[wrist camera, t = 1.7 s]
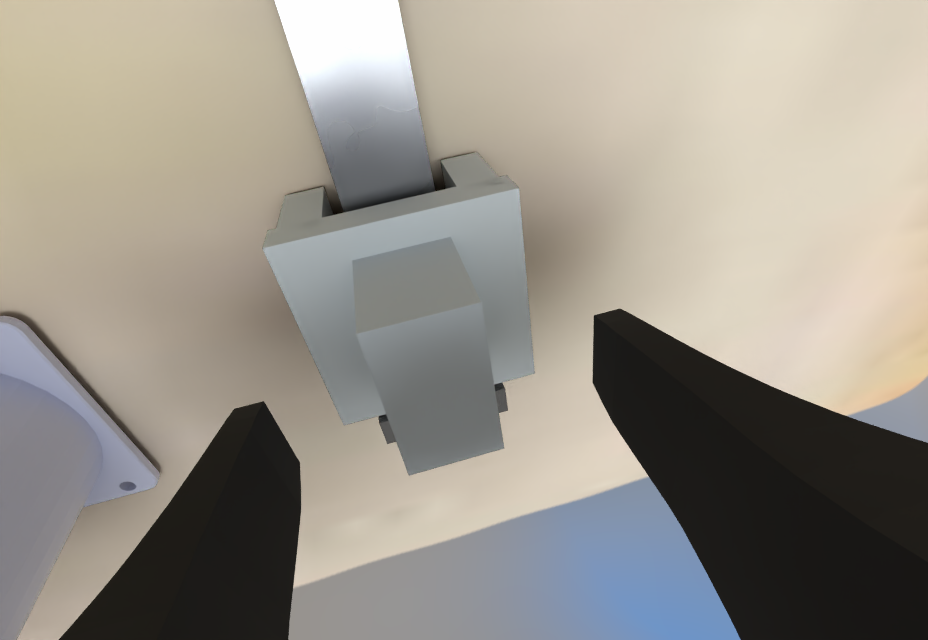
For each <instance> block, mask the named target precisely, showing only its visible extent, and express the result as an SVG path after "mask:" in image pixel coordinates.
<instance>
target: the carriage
mask: <svg viewBox="0 0 928 640" xmlns="http://www.w3.org/2000/svg"><path fill="white" fill-rule="evenodd" d="M441 166H442V171H443V177H444V182H445V188H446V189H444V190H440V191H435V192H431V193H427V194H422V195H418V196H414V197H409V198H405V199H401V200H396V201H392V202H388V203H383V204H379V205H375V206H371V207H366V208H362V209H358V210H353V211H349V212H345V213H340V214H336V215H333V212H332V209H331V206H330V204H329V201H328V198H327V195H326V192H325V189H324V187H321V188H316V189H312V190H307V191H303V192H298V193H294V194H290V195H285V197H284V201H283V204H282V208H281V212H280V216H279V219H278V223H277V227H276V229H271V230H268V231H267V235H266V238H265V241H264V245H263V248H262V249H263V251H264V253H265V255H266V257H267V260H268V262H269V264H270V266H271V268H272V270H273V273H274V275H275V277H276V279H277V281H278V283H279V286H280V288H281V290H282V292H283V294H284V296H285V299H286V301H287V303H288V305H289V307H290V309H291V312H292V314H293V316H294V318H295V320H296V322H297V325H298V327H299V329H300V331H301V333H302V335H303V338H304V340H305V342H306V344H307V346H308V349H309V351H310V353H311V355H312V357H313V359H314V362H315V364H316V366H317V368H318V370H319V372H320V375H321V377H322V379H323V381H324V383H325V385H326V388H327V390H328V392H329V394H330V396H331V398H332V401H333V403H334V405H335V407H336V409H337V411H338V414H339V416H340V418H341V420H342V422H343V424H344V425H347V424H351V423H355V422H358V421H362V420H366V419H369V418H373V417H377V416H381V415H384V414H386V415H387V418H388V420H389V423H390V426H391V429H392V431H393V434H394V437H395V439H396V442H397V445H398V447H399V450H400V453H401V455H402V458H403V461H404V464H405V466H406V469H407V472H408V474H409V475H413V474H416V473H420V472H423V471H427V470H430V469H434V468H437V467H441V466H444V465H448V464H451V463H455V462H458V461H462V460H465V459H469V458H472V457H476V456H479V455H483V454H486V453H490V452H493V451H497V450H500V449H504V443H503V437H502V431H501V424H500V418H499V412H498V405H497V399H496V393H495V386H494V384H498V383H502V382H505V381H509V380H513V379H516V378H520V377H524V376H527V375H531V374H535V371H534V359H533V347H532V335H531V323H530V312H529V300H528V288H527V276H526V264H525V252H524V241H523V229H522V217H521V205H520V193H519V187H518V186H517V185H516V184H515V183H514V182H513V181H512V180H511V179H510V178H509V177H508V176H507V175H504V176H500V177H499V176H498V175H497V174H496V173H495V172H494V170H493V169H492V168H491V167H490V166H489V165H488V164H487V163H486V161H485V160H484V159H483V158H482V157H481V156H480V155H479V154H478V152H475V153H471V154H466V155H462V156H458V157H453V158H449V159H444V160H441Z"/></svg>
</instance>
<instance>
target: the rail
mask: <svg viewBox="0 0 928 640" xmlns="http://www.w3.org/2000/svg"><path fill="white" fill-rule="evenodd" d="M275 3H276V6H277V9H278V13H279V16H280V19H281V22H282V25H283V28H284V31H285V34H286V37H287V40H288V43H289V46H290V49H291V52H292V55H293V58H294V61H295V65H296V68H297V71H298V74H299V77H300V80H301V83H302V86H303V89H304V92H305V95H306V98H307V101H308V104H309V107H310V110H311V114H312V117H313V120H314V123H315V126H316V129H317V132H318V135H319V138H320V141H321V144H322V147H323V150H324V153H325V156H326V159H327V162H328V166H329V169H330V172H331V175H332V178H333V181H334V184H335V187H336V190H337V193H338V196H339V199H340V202H341V205H342V208H343V211H344V213H345V212H349V211H353V210H358V209H362V208H366V207H371V206H375V205H379V204H383V203H388V202H392V201H396V200H401V199H405V198H409V197H414V196H418V195H422V194H427V193H431V192H435V187H434V182H433V177H432V172H431V167H430V162H429V157H428V151H427V146H426V141H425V136H424V131H423V126H422V121H421V116H420V111H419V106H418V100H417V95H416V90H415V85H414V80H413V75H412V70H411V65H410V60H409V55H408V49H407V44H406V39H405V34H404V29H403V24H402V19H401V14H400V9H399V4H398V0H275ZM494 386H495V393H496V399H497V405H498V412H499V413H500V412H504V411H508V408H507V400H506V393H505V388H504V386H503V383H498V384H494ZM379 424H380V426H381V429H382V431H383V434H384V436H385V439H386V441H387V444H389V443H393V442H396V439H395V437H394V434H393V431H392V429H391V426H390V423H389V420H388V418H387V415H386V414H384V415H381V416H379Z"/></svg>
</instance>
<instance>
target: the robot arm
mask: <svg viewBox="0 0 928 640" xmlns="http://www.w3.org/2000/svg"><path fill="white" fill-rule="evenodd" d="M593 384H594V386H595V388H596V390H597V392H598V394H599V397H600V399H601V401H602V403H603V405H604V407H605V409H606V410H607V412H608V414H609V416H610V418H611V420H612V422H613V423H614V425H615V426H616V428H617V430H618V431H619V433H620V434H621V436H622V437H623V439H624V440H625V442H626V443H627V445H628V446H629V448H630V449H631V451H632V452H633V454H634V455H635V457H636V458H637V460H638V461H639V462H640V464H641V465H642V467H643V468H644V470H645V471H646V473H647V474H648V476H649V477H650V479H651V480H652V482H653V483H654V485H655V486H656V487H657V489H658V490H659V492H660V493H661V495H662V497H663V498H664V499H665V501H666V502H667V504H668V505H669V507H670V509H671V510H672V512H673V513H674V515H675V517H676V518H677V520H678V521H679V523H680V525H681V526H682V528H683V530H684V532H685V533H686V535H687V537H688V539H689V541H690V543H691V544H692V546H693V548H694V550H695V552H696V553H697V556H698V557H699V559H700V561H701V563H702V565H703V567H704V569H705V570H706V572H707V574H708V576H709V578H710V580H711V582H712V583H713V586H714V588H715V590H716V591H717V593H718V595H719V597H720V599H721V601H722V603H723V605H724V607H725V609H726V611H727V613H728V614H729V617H730V618H731V621H732V623H733V625H734V626H735V628H736V631H737V633H738V635H739V637H740V639H741V640H928V443H926V442H923V441H920V440H916V439H913V438H910V437H907V436H904V435H900V434H897V433H895V432H891V431H889V430H885V429H883V428H879V427H877V426H873V425H870V424H867V423H864V422H861V421H858V420H856V419H853V418H850V417H847V416H845V415H842V414H839V413H836V412H833V411H831V410H828V409H826V408H823V407H821V406H818V405H816V404H813V403H811V402H808V401H805V400H803V399H800V398H798V397H795V396H793V395H790V394H788V393H786V392H783V391H781V390H779V389H776V388H774V387H772V386H769V385H767V384H765V383H763V382H761V381H758V380H756V379H754V378H752V377H750V376H748V375H746V374H743V373H741V372H739V371H737V370H735V369H733V368H731V367H729V366H727V365H725V364H723V363H721V362H719V361H717V360H715V359H713V358H711V357H709V356H707V355H705V354H703V353H701V352H699V351H697V350H695V349H694V348H692V347H690V346H688V345H686V344H684V343H682V342H681V341H679V340H677V339H675V338H673V337H671V336H670V335H668V334H666V333H664V332H662V331H661V330H659V329H657V328H655V327H653V326H652V325H650V324H648V323H646V322H644V321H643V320H641V319H639V318H637V317H635V316H633V315H632V314H630V313H628V312H626V311H624V310H622V309H617V310H613V311H609V312H605V313H601V314H597V315H594V339H593ZM159 477H160V473H159V471H158V470H157V469H156V468H155V467H154V466H153V465H152V463H151V462H150V461H149V460H148V459H147V458H146V457H145V456H144V455H143V453H142V452H141V451H140V450H139V449H138V448H137V447H136V446H135V445H134V443H133V442H132V441H131V440H130V439H129V438H128V437H127V436H126V434H125V433H124V432H123V431H122V430H121V429H120V428H119V427H118V426H117V424H116V423H115V422H114V421H113V420H112V419H111V418H110V417H109V416H108V414H107V413H106V412H105V411H104V410H103V409H102V408H101V407H100V406H99V404H98V403H97V402H96V401H95V400H94V399H93V398H92V397H91V396H90V394H89V393H88V392H87V391H86V390H85V389H84V388H83V387H82V385H81V384H80V383H79V382H78V381H77V380H76V379H75V378H74V377H73V375H72V374H71V373H70V372H69V371H68V370H67V369H66V368H65V367H64V365H63V364H62V363H61V362H60V361H59V360H58V359H57V358H56V357H55V355H54V354H53V353H52V352H51V351H50V350H49V349H48V348H47V347H46V345H45V344H44V343H43V342H42V341H41V340H40V339H39V338H38V336H37V335H36V334H35V333H34V332H33V331H32V330H31V329H30V328H29V326H28V325H26V324H25V323H24V322H23V321H21V320H19V319H16V318H14V317H9V316H0V640H17V638H18V636H19V634H20V632H21V630H22V628H23V626H24V624H25V622H26V620H27V618H28V616H29V614H30V612H31V610H32V608H33V606H34V604H35V602H36V600H37V598H38V596H39V594H40V592H41V590H42V588H43V586H44V584H45V582H46V580H47V578H48V576H49V574H50V572H51V570H52V568H53V566H54V564H55V562H56V560H57V558H58V556H59V554H60V552H61V550H62V548H63V546H64V544H65V542H66V540H67V538H68V536H69V534H70V532H71V530H72V528H73V526H74V524H75V522H76V520H77V518H78V516H79V514H80V512H81V510H82V508H83V507H86V506H90V505H94V504H97V503H101V502H105V501H108V500H112V499H116V498H119V497H123V496H126V495H130V494H134V493H137V492H141V491H145V490H148V489H151V488H153V487H155V486H156V485H157V483H158V480H159ZM300 514H301V481H300V462H299V460H298V459H297V457H296V455H295V453H294V452H293V450H292V448H291V447H290V445H289V443H288V442H287V440H286V438H285V436H284V435H283V433H282V431H281V430H280V428H279V426H278V425H277V423H276V421H275V420H274V418H273V416H272V414H271V413H270V411H269V409H268V408H267V406H266V404H265V403H264V401H263V402H259V403H255V404H252V405H248V406H244V407H240V408H236V409H234V410H233V411H232V413H231V414H230V415H229V417H228V418H227V420H226V421H225V423H224V424H223V426H222V427H221V428H220V430H219V431H218V433H217V434H216V436H215V437H214V439H213V440H212V442H211V443H210V445H209V446H208V448H207V449H206V451H205V452H204V454H203V455H202V457H201V458H200V460H199V461H198V463H197V464H196V466H195V467H194V468H193V470H192V471H191V473H190V474H189V476H188V477H187V479H186V480H185V481H184V483H183V484H182V486H181V487H180V489H179V490H178V491H177V493H176V494H175V496H174V497H173V499H172V500H171V502H170V503H169V504H168V506H167V507H166V508H165V510H164V511H163V512H162V514H161V515H160V516H159V518H158V519H157V520H156V522H155V523H154V524H153V526H152V527H151V528H150V530H149V531H148V532H147V534H146V535H145V536H144V538H143V539H142V540H141V542H140V543H139V544H138V546H137V547H136V548H135V550H134V551H133V552H132V553H131V555H130V556H129V557H128V559H127V560H126V561H125V563H124V564H123V565H122V566H121V568H120V569H119V570H118V571H117V573H116V574H115V575H114V576H113V577H112V579H111V580H110V581H109V582H108V583H107V585H106V586H105V587H104V588H103V590H102V591H101V592H100V593H99V594H98V595H97V597H96V598H95V599H94V600H93V601H92V602H91V604H90V605H89V606H88V607H87V608H86V609H85V610H84V612H83V613H82V614H81V615H80V616H79V617H78V619H77V620H76V621H75V622H74V623H73V624H72V626H71V627H70V628H69V629H68V630H67V631H66V632H65V633H64V634H63V636H62V637H61V638H60V639H59V640H288V635H289V620H290V611H291V600H292V592H293V583H294V573H295V564H296V555H297V545H298V535H299V525H300Z"/></svg>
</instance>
